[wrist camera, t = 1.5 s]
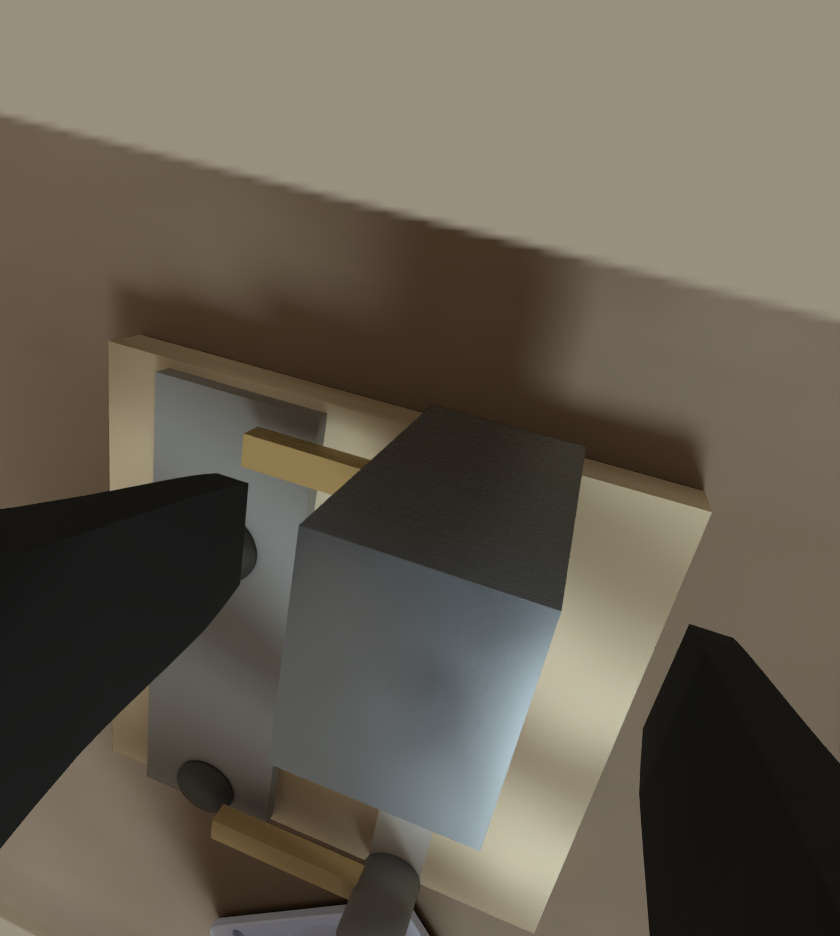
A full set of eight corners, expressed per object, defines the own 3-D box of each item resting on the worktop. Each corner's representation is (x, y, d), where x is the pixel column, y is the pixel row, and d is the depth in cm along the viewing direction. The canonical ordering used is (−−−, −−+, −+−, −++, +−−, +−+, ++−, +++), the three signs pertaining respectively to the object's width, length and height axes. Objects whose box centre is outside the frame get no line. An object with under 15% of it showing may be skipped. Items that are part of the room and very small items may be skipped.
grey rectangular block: (533, 611, 14) (479, 851, 8) (249, 517, 15) (46, 671, 10) (586, 446, 12) (561, 611, 7) (264, 358, 14) (32, 436, 8)
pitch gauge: (538, 895, 20) (520, 1041, 16) (136, 725, 23) (46, 817, 19) (704, 491, 14) (734, 578, 11) (140, 334, 17) (13, 360, 13)
